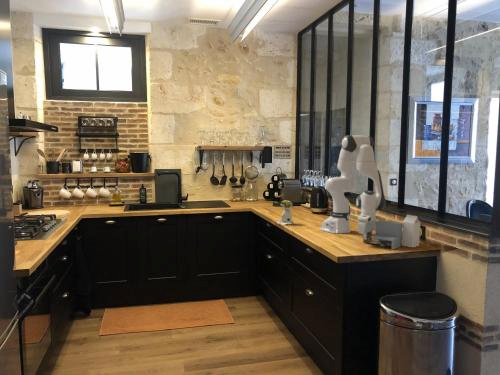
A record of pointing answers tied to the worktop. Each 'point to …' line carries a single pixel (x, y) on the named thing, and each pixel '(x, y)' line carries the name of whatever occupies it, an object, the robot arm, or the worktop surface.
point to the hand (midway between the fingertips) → (367, 238)
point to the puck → (383, 244)
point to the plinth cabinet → (389, 232)
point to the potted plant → (286, 213)
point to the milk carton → (411, 231)
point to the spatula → (369, 240)
